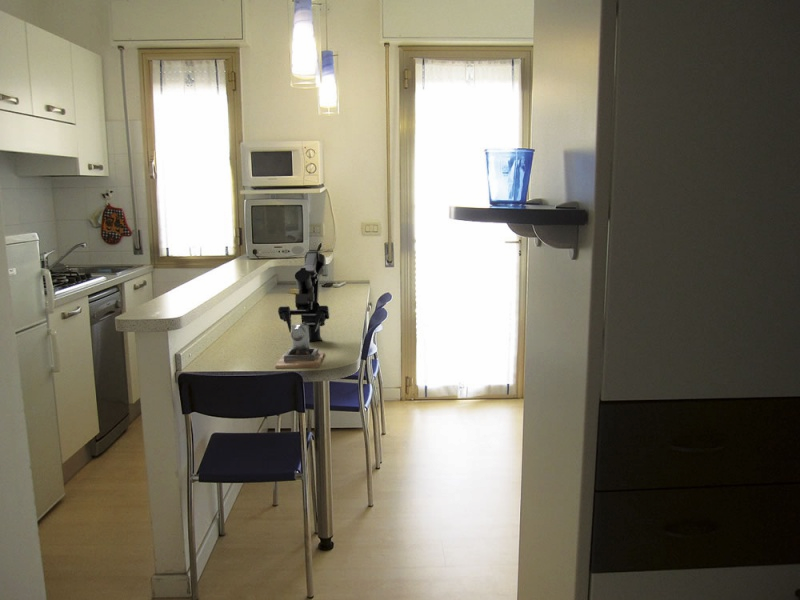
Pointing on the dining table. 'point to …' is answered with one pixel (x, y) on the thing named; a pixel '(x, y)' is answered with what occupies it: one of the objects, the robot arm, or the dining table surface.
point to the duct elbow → (300, 339)
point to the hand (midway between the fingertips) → (302, 331)
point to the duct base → (300, 359)
